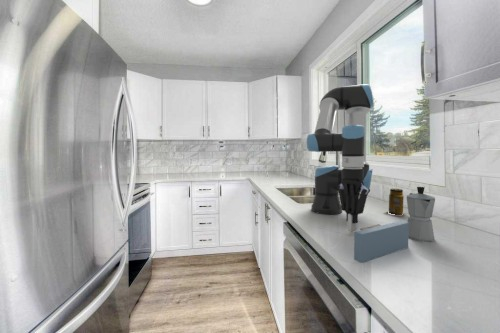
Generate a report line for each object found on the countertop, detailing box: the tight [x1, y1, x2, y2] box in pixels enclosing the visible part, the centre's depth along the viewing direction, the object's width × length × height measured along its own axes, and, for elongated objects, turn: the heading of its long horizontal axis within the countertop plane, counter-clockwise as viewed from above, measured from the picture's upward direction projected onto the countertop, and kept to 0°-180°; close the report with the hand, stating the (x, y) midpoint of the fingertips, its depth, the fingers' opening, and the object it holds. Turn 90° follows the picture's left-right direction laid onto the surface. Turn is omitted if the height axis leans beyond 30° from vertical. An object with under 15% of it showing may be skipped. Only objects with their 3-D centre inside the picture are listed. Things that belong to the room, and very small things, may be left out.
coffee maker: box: [406, 186, 436, 243], centre depth 87 cm, size 15×9×18 cm, turn 168°
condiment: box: [383, 188, 407, 217], centre depth 119 cm, size 7×8×12 cm
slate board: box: [353, 220, 409, 263], centre depth 74 cm, size 22×2×8 cm, turn 118°
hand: (351, 230), depth 91 cm, fingers closed
